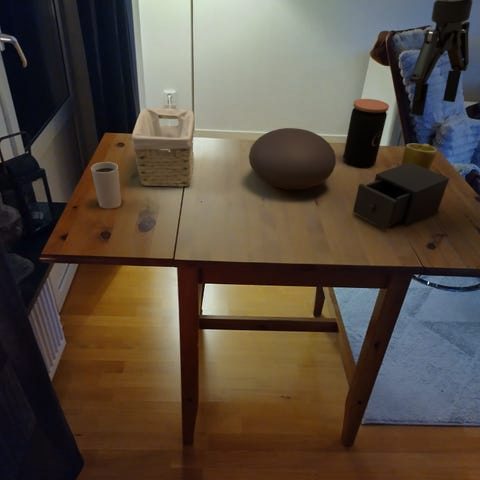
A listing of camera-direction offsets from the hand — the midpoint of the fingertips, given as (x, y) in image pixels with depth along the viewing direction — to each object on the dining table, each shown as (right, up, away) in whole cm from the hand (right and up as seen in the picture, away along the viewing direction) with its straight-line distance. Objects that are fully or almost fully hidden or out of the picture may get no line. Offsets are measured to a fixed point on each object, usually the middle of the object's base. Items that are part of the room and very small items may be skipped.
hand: (433, 107), depth 109 cm
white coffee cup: (-81, -19, +15) cm, 84 cm away
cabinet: (-1, -19, +19) cm, 27 cm away
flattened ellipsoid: (-31, -9, +29) cm, 43 cm away
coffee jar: (-7, +2, +43) cm, 43 cm away
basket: (-68, -5, +31) cm, 75 cm away
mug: (+11, -2, +39) cm, 41 cm away
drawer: (-7, -22, +14) cm, 27 cm away
